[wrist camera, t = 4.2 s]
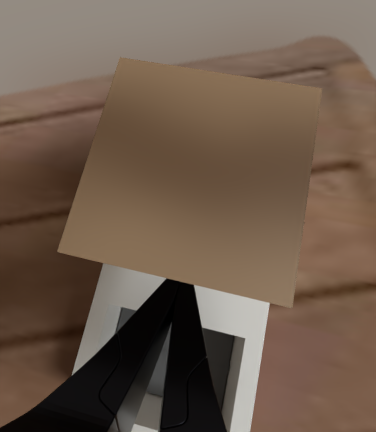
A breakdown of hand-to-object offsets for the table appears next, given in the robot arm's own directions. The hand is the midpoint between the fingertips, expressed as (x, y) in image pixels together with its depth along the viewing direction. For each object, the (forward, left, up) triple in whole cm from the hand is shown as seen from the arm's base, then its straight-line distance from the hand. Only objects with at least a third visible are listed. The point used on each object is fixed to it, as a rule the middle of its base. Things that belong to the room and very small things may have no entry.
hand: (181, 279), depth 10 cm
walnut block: (+3, 0, -4) cm, 5 cm away
